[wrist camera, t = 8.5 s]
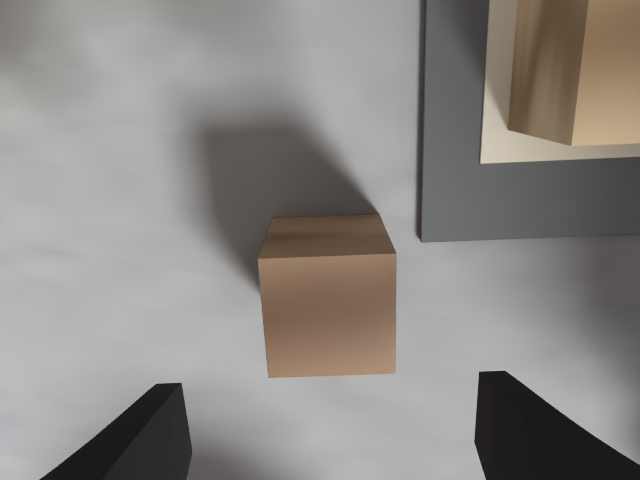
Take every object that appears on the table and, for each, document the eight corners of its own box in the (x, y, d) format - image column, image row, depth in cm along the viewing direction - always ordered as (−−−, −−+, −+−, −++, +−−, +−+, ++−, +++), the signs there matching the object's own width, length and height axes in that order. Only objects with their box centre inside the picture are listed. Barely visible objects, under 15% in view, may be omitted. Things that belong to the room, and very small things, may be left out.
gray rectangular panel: (704, 228, 20) (711, 231, 20) (420, 240, 20) (422, 243, 20) (791, -175, 16) (802, -181, 15) (429, -155, 16) (431, -160, 16)
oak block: (650, 123, 18) (763, 137, 14) (507, 130, 19) (571, 146, 14) (677, -37, 17) (817, -85, 12) (519, -29, 17) (597, -73, 12)
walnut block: (379, 309, 22) (395, 373, 17) (280, 313, 22) (268, 377, 17) (378, 213, 20) (396, 253, 15) (272, 217, 20) (257, 258, 16)
